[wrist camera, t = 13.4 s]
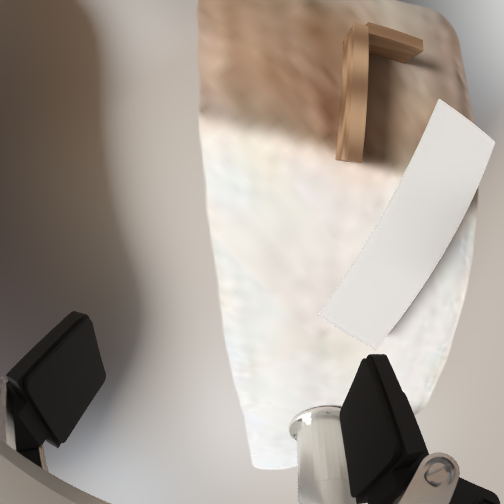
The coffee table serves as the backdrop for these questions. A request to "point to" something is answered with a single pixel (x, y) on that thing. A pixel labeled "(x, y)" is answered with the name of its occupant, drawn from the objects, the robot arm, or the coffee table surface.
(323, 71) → the coffee table surface
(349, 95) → the wooden corner bracket
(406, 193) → the decorative molding
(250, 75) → the coffee table surface
